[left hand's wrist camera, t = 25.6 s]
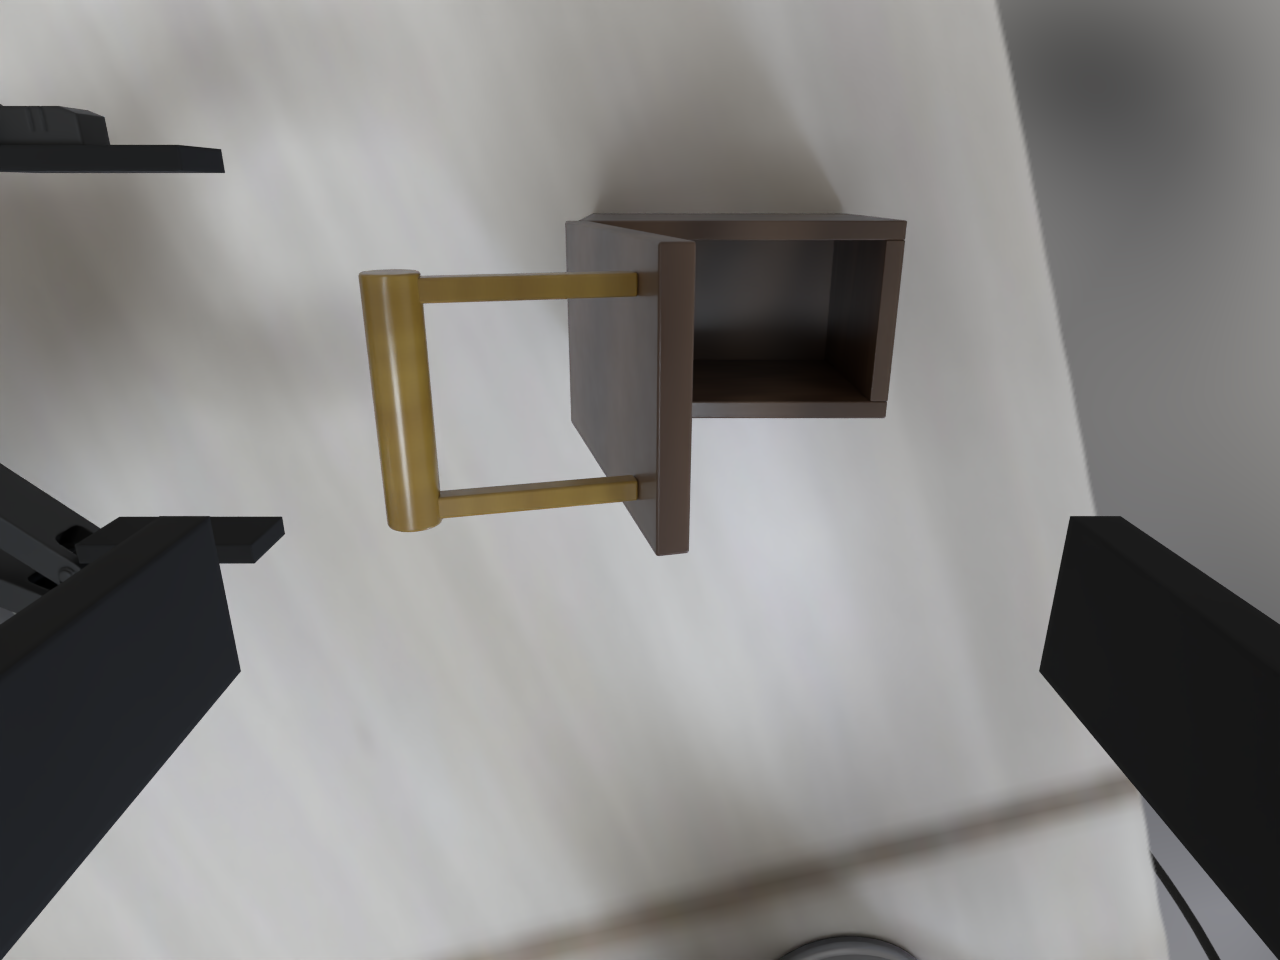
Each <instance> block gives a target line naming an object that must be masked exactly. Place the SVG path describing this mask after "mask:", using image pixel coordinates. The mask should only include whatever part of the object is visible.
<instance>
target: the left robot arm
mask: <svg viewBox="0 0 1280 960" xmlns="http://www.w3.org/2000/svg"><path fill="white" fill-rule="evenodd" d="M240 672H241V670H240V665H239V660H238V655H237V650H236V645H235V640H234V635H233V630H232V625H231V620H230V615H229V610H228V605H227V600H226V595H225V590H224V585H223V580H222V575H221V570H220V565H219V560H218V555H217V550H216V545H215V540H214V535H213V530H212V525H211V520H210V516H159V517H158V518H156V519H155V520H153V521H152V522H150V523H149V524H147V525H146V526H144V527H143V528H142V529H140V530H139V531H137V532H136V533H134V534H133V535H131V536H130V537H128V538H127V539H125V540H124V541H122V542H121V543H119V544H118V545H117V546H115V547H114V548H112V549H111V550H109V551H108V552H106V553H105V554H103V555H102V556H100V557H99V558H97V559H96V560H94V561H93V562H91V563H90V564H89V565H87V566H86V567H84V568H83V569H81V570H80V571H78V572H77V573H75V574H74V575H72V576H71V577H69V578H68V579H66V580H65V581H64V582H62V583H61V584H59V585H58V586H56V587H55V588H53V589H52V590H50V591H49V592H47V593H46V594H44V595H43V596H41V597H40V598H39V599H37V600H36V601H34V602H33V603H31V604H30V605H28V606H27V607H25V608H24V609H22V610H21V611H19V612H18V613H16V614H15V615H13V616H12V617H11V618H9V619H8V620H6V621H5V622H3V623H2V624H0V960H2V959H3V957H4V956H5V955H6V954H7V953H8V951H9V950H10V949H11V948H12V947H13V945H14V944H15V943H16V942H17V940H18V939H19V938H20V937H21V936H22V934H23V933H24V932H25V931H26V930H27V928H28V927H29V926H30V925H31V924H32V922H33V921H34V920H35V919H36V918H37V916H38V915H39V914H40V913H41V912H42V910H43V909H44V908H45V907H46V906H47V904H48V903H49V902H50V901H51V899H52V898H53V897H54V896H55V895H56V893H57V892H58V891H59V890H60V889H61V887H62V886H63V885H64V884H65V883H66V881H67V880H68V879H69V878H70V877H71V875H72V874H73V873H74V872H75V871H76V869H77V868H78V867H79V866H80V865H81V863H82V862H83V861H84V860H85V858H86V857H87V856H88V855H89V854H90V852H91V851H92V850H93V849H94V848H95V846H96V845H97V844H98V843H99V842H100V840H101V839H102V838H103V837H104V836H105V834H106V833H107V832H108V831H109V830H110V828H111V827H112V826H113V825H114V824H115V822H116V821H117V820H118V819H119V817H120V816H121V815H122V814H123V813H124V811H125V810H126V809H127V808H128V807H129V805H130V804H131V803H132V802H133V801H134V799H135V798H136V797H137V796H138V795H139V793H140V792H141V791H142V790H143V789H144V787H145V786H146V785H147V784H148V783H149V781H150V780H151V779H152V778H153V777H154V775H155V774H156V773H157V772H158V770H159V769H160V768H161V767H162V766H163V764H164V763H165V762H166V761H167V760H168V758H169V757H170V756H171V755H172V754H173V752H174V751H175V750H176V749H177V748H178V746H179V745H180V744H181V743H182V742H183V740H184V739H185V738H186V737H187V736H188V734H189V733H190V732H191V731H192V729H193V728H194V727H195V726H196V725H197V723H198V722H199V721H200V720H201V719H202V717H203V716H204V715H205V714H206V713H207V711H208V710H209V709H210V708H211V707H212V705H213V704H214V703H215V702H216V701H217V699H218V698H219V697H220V696H221V695H222V693H223V692H224V691H225V690H226V688H227V687H228V686H229V685H230V684H231V682H232V681H233V680H234V679H235V678H236V676H237V675H238V674H239V673H240ZM1039 672H1040V673H1041V674H1042V675H1043V676H1044V678H1045V679H1046V680H1047V681H1048V682H1049V684H1050V685H1051V686H1052V687H1053V688H1054V690H1055V691H1056V692H1057V693H1058V695H1059V696H1060V697H1061V698H1062V699H1063V701H1064V702H1065V703H1066V704H1067V705H1068V707H1069V708H1070V709H1071V710H1072V711H1073V713H1074V714H1075V715H1076V716H1077V717H1078V719H1079V720H1080V721H1081V722H1082V723H1083V725H1084V726H1085V727H1086V728H1087V729H1088V731H1089V732H1090V733H1091V734H1092V736H1093V737H1094V738H1095V739H1096V740H1097V742H1098V743H1099V744H1100V745H1101V746H1102V748H1103V749H1104V750H1105V751H1106V752H1107V754H1108V755H1109V756H1110V757H1111V758H1112V760H1113V761H1114V762H1115V763H1116V764H1117V766H1118V767H1119V768H1120V769H1121V770H1122V772H1123V773H1124V774H1125V775H1126V777H1127V778H1128V779H1129V780H1130V781H1131V783H1132V784H1133V785H1134V786H1135V787H1136V789H1137V790H1138V791H1139V792H1140V793H1141V795H1142V796H1143V797H1144V798H1145V799H1146V801H1147V802H1148V803H1149V804H1150V805H1151V807H1152V808H1153V809H1154V810H1155V811H1156V813H1157V814H1158V815H1159V816H1160V817H1161V819H1162V820H1163V821H1164V822H1165V824H1166V825H1167V826H1168V827H1169V828H1170V830H1171V831H1172V832H1173V833H1174V834H1175V836H1176V837H1177V838H1178V839H1179V840H1180V842H1181V843H1182V844H1183V845H1184V846H1185V848H1186V849H1187V850H1188V851H1189V852H1190V854H1191V855H1192V856H1193V857H1194V858H1195V860H1196V861H1197V862H1198V863H1199V865H1200V866H1201V867H1202V868H1203V869H1204V871H1205V872H1206V873H1207V874H1208V875H1209V877H1210V878H1211V879H1212V880H1213V881H1214V883H1215V884H1216V885H1217V886H1218V887H1219V889H1220V890H1221V891H1222V892H1223V893H1224V895H1225V896H1226V897H1227V898H1228V899H1229V901H1230V902H1231V903H1232V904H1233V905H1234V907H1235V908H1236V909H1237V910H1238V912H1239V913H1240V914H1241V915H1242V916H1243V918H1244V919H1245V920H1246V921H1247V922H1248V924H1249V925H1250V926H1251V927H1252V928H1253V930H1254V931H1255V932H1256V933H1257V934H1258V936H1259V937H1260V938H1261V939H1262V940H1263V942H1264V943H1265V944H1266V945H1267V947H1268V948H1269V949H1270V950H1271V951H1272V953H1273V954H1274V955H1275V956H1276V957H1277V959H1278V960H1280V624H1278V623H1277V622H1275V621H1274V620H1272V619H1271V618H1269V617H1268V616H1267V615H1265V614H1264V613H1262V612H1261V611H1259V610H1258V609H1256V608H1255V607H1253V606H1252V605H1250V604H1249V603H1247V602H1246V601H1244V600H1243V599H1241V598H1240V597H1239V596H1237V595H1236V594H1234V593H1233V592H1231V591H1230V590H1228V589H1227V588H1225V587H1224V586H1222V585H1221V584H1219V583H1218V582H1216V581H1215V580H1213V579H1212V578H1211V577H1209V576H1208V575H1206V574H1205V573H1203V572H1202V571H1200V570H1199V569H1197V568H1196V567H1194V566H1193V565H1191V564H1190V563H1188V562H1187V561H1186V560H1184V559H1183V558H1181V557H1180V556H1178V555H1177V554H1175V553H1174V552H1172V551H1171V550H1169V549H1168V548H1166V547H1165V546H1163V545H1162V544H1160V543H1159V542H1158V541H1156V540H1155V539H1153V538H1152V537H1150V536H1149V535H1147V534H1146V533H1144V532H1143V531H1141V530H1140V529H1138V528H1137V527H1135V526H1134V525H1133V524H1131V523H1130V522H1128V521H1127V520H1125V519H1124V518H1122V517H1121V516H1070V520H1069V525H1068V530H1067V535H1066V540H1065V545H1064V550H1063V555H1062V560H1061V565H1060V570H1059V575H1058V580H1057V585H1056V590H1055V595H1054V600H1053V605H1052V610H1051V615H1050V620H1049V625H1048V630H1047V635H1046V640H1045V645H1044V650H1043V655H1042V660H1041V665H1040V670H1039ZM1149 852H1150V857H1151V862H1152V866H1153V870H1154V872H1155V873H1156V875H1157V876H1158V877H1159V879H1160V880H1161V882H1162V883H1163V885H1164V886H1165V888H1166V889H1167V891H1168V892H1169V894H1170V895H1171V897H1172V898H1173V900H1174V901H1175V903H1176V904H1177V906H1178V908H1179V909H1180V911H1181V912H1182V914H1183V916H1184V917H1185V919H1186V920H1187V922H1188V924H1189V925H1190V927H1191V929H1192V930H1193V932H1194V934H1195V936H1196V937H1197V939H1198V941H1199V943H1200V945H1201V946H1202V948H1203V950H1204V952H1205V953H1206V955H1207V957H1208V959H1209V960H1221V959H1220V958H1219V956H1218V954H1217V952H1216V951H1215V949H1214V947H1213V945H1212V944H1211V942H1210V940H1209V938H1208V937H1207V935H1206V933H1205V932H1204V930H1203V928H1202V926H1201V925H1200V923H1199V922H1198V920H1197V918H1196V917H1195V915H1194V914H1193V912H1192V911H1191V909H1190V907H1189V906H1188V904H1187V903H1186V901H1185V900H1184V898H1183V897H1182V895H1181V894H1180V892H1179V891H1178V889H1177V888H1176V886H1175V885H1174V883H1173V882H1172V881H1171V879H1170V878H1169V876H1168V875H1167V873H1166V872H1165V871H1164V869H1163V868H1162V866H1161V865H1160V864H1159V862H1158V861H1157V859H1156V858H1155V857H1154V855H1153V854H1152V853H1151V851H1150V850H1149ZM779 960H916V959H915V958H914V957H913V956H912V955H911V954H909V953H908V952H906V951H905V950H903V949H901V948H899V947H897V946H895V945H893V944H890V943H887V942H884V941H881V940H877V939H872V938H865V937H837V938H829V939H824V940H820V941H816V942H813V943H810V944H807V945H804V946H802V947H800V948H797V949H795V950H794V951H792V952H790V953H788V954H787V955H785V956H784V957H782V958H781V959H779Z"/></svg>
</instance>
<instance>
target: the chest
mask: <svg viewBox="0 0 1280 960" xmlns="http://www.w3.org/2000/svg"><path fill="white" fill-rule="evenodd" d="M579 221H590V222H596V223H601V224H606V225H611V226H617V227H622V228H627V229H633V230H638V231H643V232H649V233H654V234H659V235H664V236H670V237H675V238H680V239H686V240H691V241H694V242H695V243H696V263H695V306H694V349H693V391H692V418H885V416H886V407H887V402H886V401H887V400H888V391H889V382H890V373H891V363H892V354H893V345H894V336H895V327H896V318H897V309H898V300H899V290H900V281H901V272H902V263H903V254H904V245H905V241H904V240H905V234H906V225H907V221H905V220H897V219H888V218H879V217H870V216H862V215H853V214H592V215H590V216H587V217H585V218H583V219H581V220H579Z"/></svg>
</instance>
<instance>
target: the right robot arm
mask: <svg viewBox="0 0 1280 960" xmlns="http://www.w3.org/2000/svg"><path fill="white" fill-rule="evenodd" d="M0 172H26V173H225V170H224V164H223V158H222V152H221V149H213V148H203V147H193V146H183V145H110V142H109V137H108V132H107V127H106V123H105V118H104V117H103V116H100V115H98V114H95V113H93V112H90V111H88V110H81V109H75V108H68V107H61V106H2V105H1V104H0ZM156 518H158V517H119V518H117V519H115V520H114V521H112V522H111V523H109V524H107V525H106V526H104V527H103V528H101V529H100V528H99V527H97V526H96V525H94V524H93V523H91V522H90V521H88V520H87V519H85V518H83V517H82V516H80V515H79V514H77V513H76V512H74V511H73V510H71V509H70V508H68V507H67V506H65V505H63V504H62V503H60V502H59V501H57V500H56V499H54V498H53V497H51V496H50V495H48V494H47V493H45V492H44V491H42V490H40V489H39V488H37V487H36V486H34V485H33V484H31V483H30V482H28V481H27V480H25V479H24V478H22V477H20V476H19V475H17V474H16V473H14V472H13V471H11V470H10V469H8V468H7V467H5V466H4V465H2V464H0V624H2V623H3V622H5V621H6V620H8V619H9V618H11V617H12V616H13V615H15V614H16V613H18V612H19V611H21V610H22V609H24V608H25V607H27V606H28V605H30V604H31V603H33V602H34V601H36V600H37V599H39V598H40V597H41V596H43V595H44V594H46V593H47V592H49V591H50V590H52V589H53V588H55V587H56V586H58V585H59V584H61V583H62V582H64V581H65V580H66V579H68V578H69V577H71V576H72V575H74V574H75V573H77V572H78V571H80V570H81V569H83V568H84V567H86V566H87V565H89V564H90V563H91V562H93V561H94V560H96V559H97V558H99V557H100V556H102V555H103V554H105V553H106V552H108V551H109V550H111V549H112V548H114V547H115V546H117V545H118V544H119V543H121V542H122V541H124V540H125V539H127V538H128V537H130V536H131V535H133V534H134V533H136V532H137V531H139V530H140V529H142V528H143V527H144V526H146V525H147V524H149V523H150V522H152V521H153V520H155V519H156ZM210 520H211V525H212V530H213V535H214V540H215V545H216V550H217V555H218V560H219V563H255V562H256V561H257V560H258V559H259V558H261V557H262V556H263V555H264V554H265V553H266V552H267V551H268V550H269V549H270V548H271V547H272V546H273V545H274V544H275V543H276V542H277V541H278V540H279V539H280V538H281V537H282V536H283V535H284V534H285V532H284V526H283V520H282V517H210Z"/></svg>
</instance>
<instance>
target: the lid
mask: <svg viewBox="0 0 1280 960" xmlns="http://www.w3.org/2000/svg"><path fill="white" fill-rule="evenodd" d="M565 227H566V260H567V272H562V273H520V274H477V275H435V276H421V275H420V272H419V271H416V270H404V269H390V270H372V271H364V272H361V273H359V284H360V292H361V301H362V309H363V318H364V326H365V335H366V344H367V352H368V361H369V369H370V378H371V386H372V395H373V403H374V412H375V420H376V429H377V437H378V446H379V454H380V463H381V471H382V480H383V488H384V497H385V505H386V514H387V522H388V526H389V527H390V528H391V529H393V530H396V531H401V532H416V531H423V530H427V529H430V528H433V527H435V526H437V525H438V524H440V523H441V521H442V519H443V518H451V517H462V516H473V515H484V514H494V513H505V512H516V511H527V510H537V509H548V508H559V507H570V506H581V505H591V504H602V503H613V502H623V503H624V505H625V507H626V508H627V510H628V511H629V513H630V514H631V516H632V518H633V519H634V521H635V522H636V524H637V525H638V527H639V529H640V530H641V532H642V533H643V535H644V537H645V538H646V540H647V541H648V543H649V544H650V546H651V548H652V549H653V551H654V552H655V554H656V555H657V556H663V555H672V554H681V553H687V552H688V551H689V520H690V477H691V434H692V391H693V349H694V306H695V263H696V243H695V242H694V241H691V240H686V239H680V238H675V237H670V236H664V235H659V234H654V233H649V232H643V231H638V230H633V229H627V228H622V227H617V226H611V225H606V224H601V223H596V222H590V221H566V223H565ZM548 299H568V326H569V359H570V392H571V421H572V423H573V425H574V426H575V428H576V429H577V431H578V433H579V434H580V436H581V437H582V439H583V440H584V442H585V444H586V445H587V447H588V448H589V450H590V451H591V453H592V455H593V456H594V458H595V459H596V461H597V462H598V464H599V466H600V467H601V469H602V470H603V472H604V473H605V475H606V477H601V478H589V479H577V480H565V481H554V482H542V483H530V484H518V485H506V486H495V487H483V488H471V489H459V490H448V491H440V483H439V472H438V461H437V450H436V439H435V428H434V417H433V407H432V396H431V385H430V374H429V363H428V352H427V341H426V330H425V319H424V308H423V303H453V302H484V301H516V300H548Z"/></svg>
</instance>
